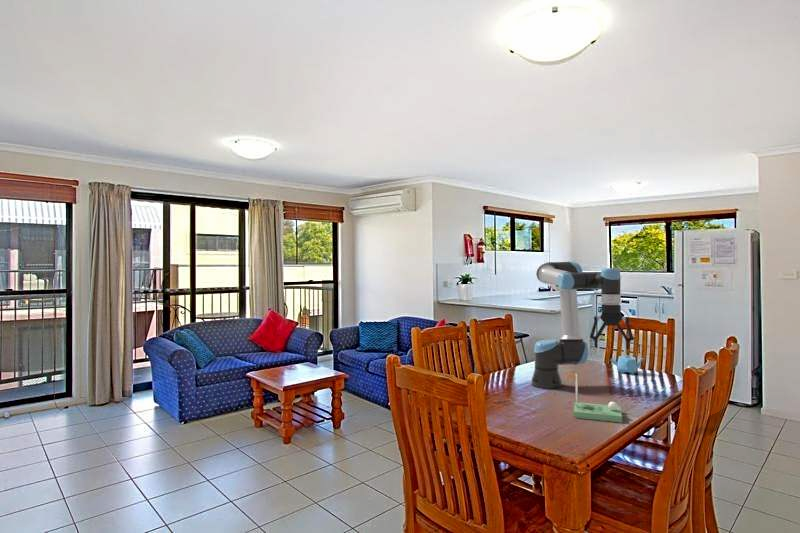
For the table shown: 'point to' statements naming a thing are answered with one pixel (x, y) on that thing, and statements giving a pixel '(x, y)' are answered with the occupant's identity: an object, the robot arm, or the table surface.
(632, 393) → the table surface
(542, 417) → the table surface
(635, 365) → the teapot
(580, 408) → the green
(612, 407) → the ball
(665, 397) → the table surface
